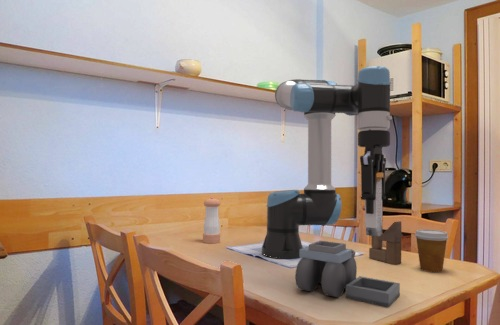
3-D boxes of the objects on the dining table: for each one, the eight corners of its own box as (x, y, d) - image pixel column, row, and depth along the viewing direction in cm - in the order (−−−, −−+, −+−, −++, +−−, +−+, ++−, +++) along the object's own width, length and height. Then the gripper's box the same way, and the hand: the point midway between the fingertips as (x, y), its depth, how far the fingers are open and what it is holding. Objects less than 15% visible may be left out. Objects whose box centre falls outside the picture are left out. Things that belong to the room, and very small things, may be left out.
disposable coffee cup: (450, 269, 118) (450, 231, 118) (446, 275, 110) (446, 235, 110) (417, 264, 123) (417, 228, 124) (411, 270, 115) (412, 231, 116)
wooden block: (394, 265, 122) (394, 210, 123) (368, 258, 131) (369, 207, 132) (401, 263, 124) (401, 209, 125) (375, 257, 133) (376, 206, 134)
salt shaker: (199, 241, 159) (200, 196, 159) (213, 239, 164) (213, 196, 164) (209, 244, 153) (210, 197, 154) (223, 242, 158) (224, 197, 159)
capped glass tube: (361, 235, 90) (361, 172, 91) (367, 232, 94) (367, 172, 94) (380, 236, 88) (380, 172, 88) (385, 234, 91) (385, 172, 92)
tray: (345, 298, 89) (345, 285, 89) (359, 287, 97) (359, 276, 97) (388, 307, 83) (388, 293, 84) (399, 295, 92) (399, 283, 92)
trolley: (291, 292, 93) (292, 246, 93) (318, 277, 106) (319, 237, 106) (333, 301, 87) (333, 251, 87) (356, 284, 100) (356, 241, 100)
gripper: (379, 125, 82) (379, 232, 82) (398, 133, 96) (398, 224, 95) (346, 128, 87) (346, 228, 86) (369, 134, 100) (368, 221, 100)
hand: (373, 226), depth 91 cm, fingers closed on capped glass tube, 3 cm apart
